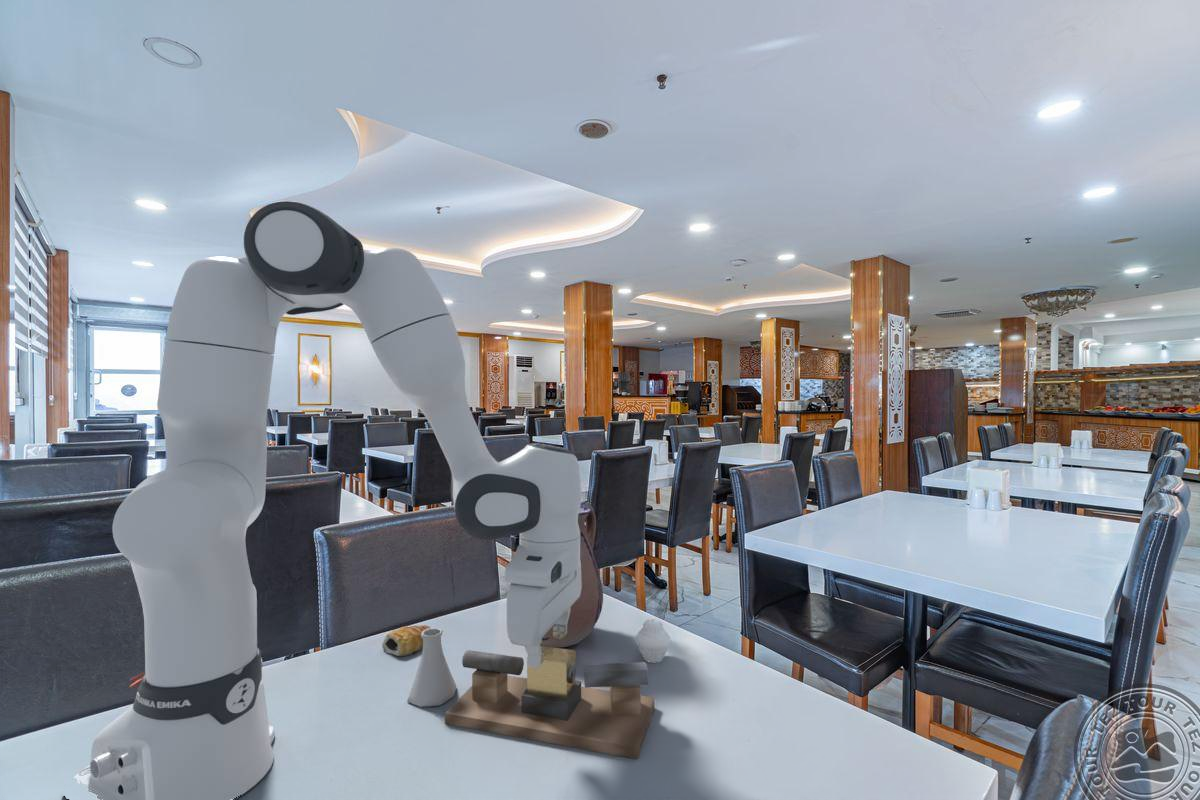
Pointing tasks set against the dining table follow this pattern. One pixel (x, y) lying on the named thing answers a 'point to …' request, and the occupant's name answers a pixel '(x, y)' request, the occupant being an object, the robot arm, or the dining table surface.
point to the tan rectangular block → (553, 673)
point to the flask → (432, 673)
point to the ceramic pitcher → (591, 592)
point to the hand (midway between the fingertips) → (548, 650)
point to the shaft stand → (557, 705)
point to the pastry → (404, 640)
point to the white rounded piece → (653, 640)
